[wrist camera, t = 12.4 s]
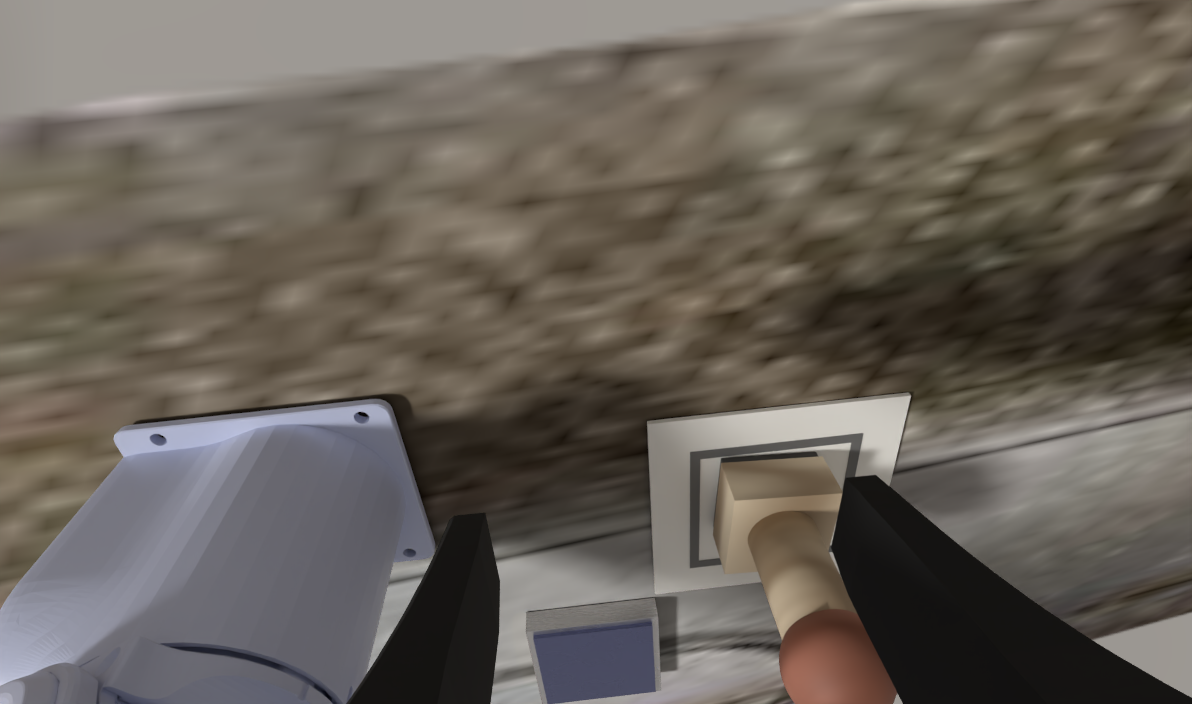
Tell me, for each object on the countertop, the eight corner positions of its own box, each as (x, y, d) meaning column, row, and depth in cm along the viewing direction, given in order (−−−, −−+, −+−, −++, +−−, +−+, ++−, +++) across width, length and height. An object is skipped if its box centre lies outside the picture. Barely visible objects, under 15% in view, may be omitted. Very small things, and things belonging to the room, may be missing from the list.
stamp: (710, 527, 27) (782, 765, 19) (718, 456, 24) (802, 690, 17) (802, 520, 27) (911, 753, 19) (818, 449, 25) (948, 677, 17)
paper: (654, 590, 29) (655, 595, 29) (647, 421, 24) (647, 425, 23) (868, 566, 29) (870, 570, 29) (908, 392, 24) (911, 396, 24)
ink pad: (542, 684, 32) (542, 708, 31) (526, 612, 29) (525, 636, 28) (657, 671, 32) (661, 694, 31) (654, 597, 29) (658, 620, 28)
